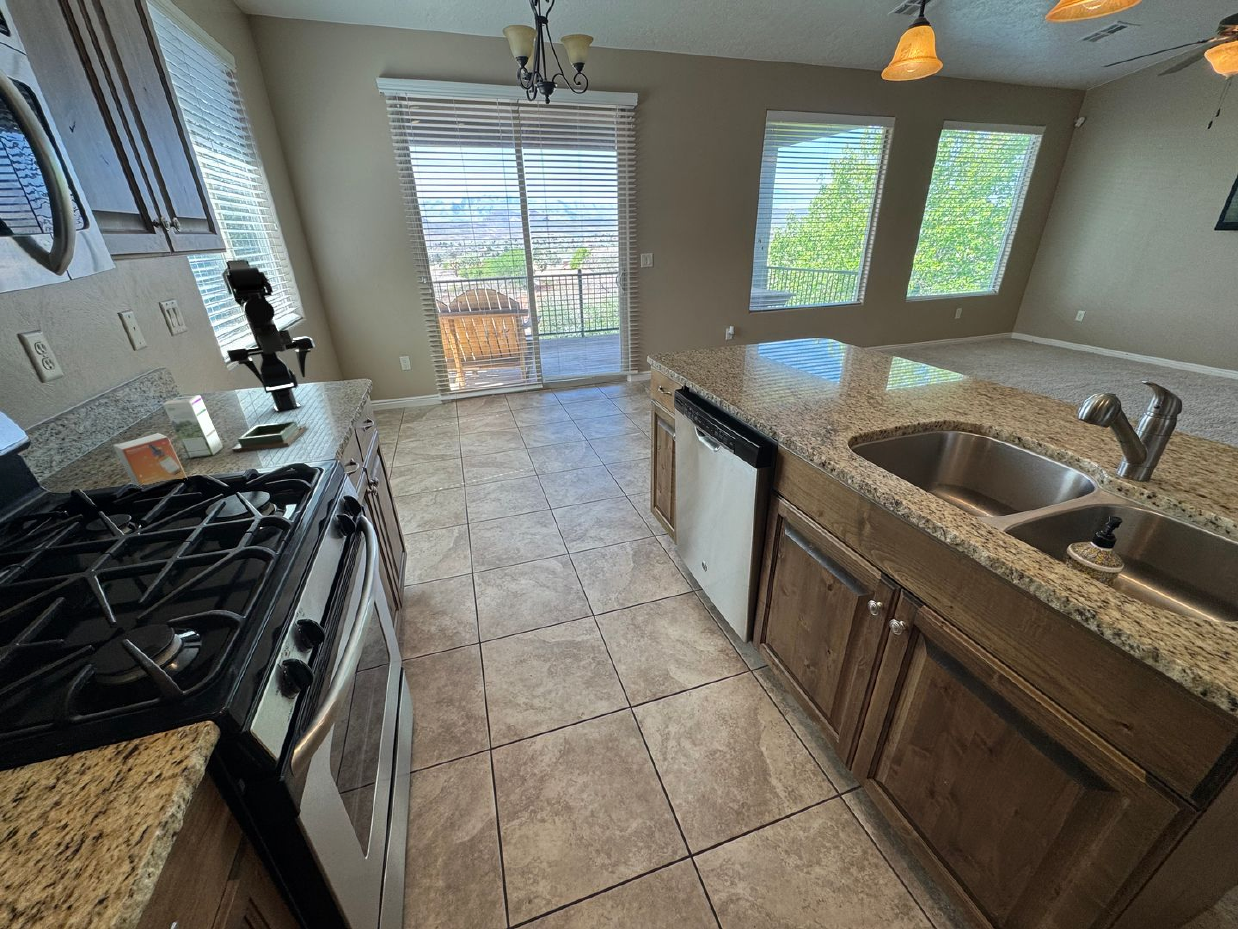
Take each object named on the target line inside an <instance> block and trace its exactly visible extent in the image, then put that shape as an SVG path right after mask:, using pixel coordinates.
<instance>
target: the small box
mask: <svg viewBox="0 0 1238 929" xmlns="http://www.w3.org/2000/svg"><path fill="white" fill-rule="evenodd" d="M112 447H113V449H114V451H115V453H116V455H117V457H118V459H119V460H120V462H121V464H122V467H123V468H124V470H125V472H126V474H127V475H128V477H129V479H130V482H131V483H132V485H133V486H134V485H140V486H142V485H149V484H153V483H156V482H160V481H166V480H171V479H183V478H187V479H188V477H187V475H186V473H185V470H184V468H183V466H182V464H181V462H180V460H179V458H178V456H177V453H176V452H175V449H174V447H173V445H172V443H171V441H170V439H169V437H168V436H166V435H164V434H161V433H159V432H157V433H153V434H150V435H147V436H142V437H140V438H135V439H132V440H128V441H125V442H121V443H115V444H113V445H112Z"/></svg>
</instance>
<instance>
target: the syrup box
mask: <svg viewBox="0 0 1238 929" xmlns="http://www.w3.org/2000/svg"><path fill="white" fill-rule="evenodd" d="M162 406H163V408H164V411H165V412H166V414H167V416H168V419H169V421H170V423H171V426H172V427H173V429H174V431H175V434H176V435H177V437H178V440H179V442H180V444H181V446H182V448H183V450H184V452H185V454H186V456H187V458H188V459H193V458H199V457H201V458H202V457H208V456H209V457H210V456H214V455H216V454H217V453H218V452H219V451H220V450H222V449H223V448H224V445H223V444H222V441H221V439H220V436H219V435H218V433H217V431H216V428H215V426H214V424H213V422H212V419H211V417H210V415H209V412H208V410H207V407H206V405H205V403H204V401H203V398H202V396H201V395H200V394H197V395H187V396H180V397H179V396H178V397H173V398H170V399H168V400H166V401H165V402H164V403H162Z"/></svg>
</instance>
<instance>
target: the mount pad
mask: <svg viewBox="0 0 1238 929" xmlns="http://www.w3.org/2000/svg"><path fill="white" fill-rule="evenodd" d="M307 429H308V427H307V426H306V425H299V426H298V424H297V421H288V422H277V423H268V424H267V423H266V424H257V425H255V426H253V427H251V429H249V430H248V431H247V432H245V433H244V434H243V435H241V436H240V437H239V438H237V441H238V443H237V444H236V445H235V446H234V447H232V448H231V451H232V453H233V454H234V453H242V452H252V451H261V450H270V449H278V448H288V447H290V446H291V445H292V444H293V443H295V441H296V440H298V438H299V437H300V436H301V435H303V434H304V432H306V430H307Z"/></svg>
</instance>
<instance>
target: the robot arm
mask: <svg viewBox="0 0 1238 929" xmlns="http://www.w3.org/2000/svg"><path fill="white" fill-rule="evenodd" d="M225 265H226V268H225V270H224V271H223V272H222V274H221V276H222V278H223V281H224V284H225V287H226V290H227V293H228V295H232V297H233V298H232V299H233V300H234V302H235V303H236V304H238V305H239V306H240V307H241V309H242V311H243V312H244V316H245V319H246V321H247V323H248V326H249V328H250V331H251V334H252V336H253V338H254V341H255V344H256V346H257V347H250V348H246V346H244V345H243V346H237V347H232V348H228V349H227V350H226V353H227V356H228V357H229V360H230V362H231V363H235V362H237V363H238V365H245V366H246V367H247V368H248V369H249V371H251V372H252V373H253V374H254V375H255V377H256V378H257V379H258V381H259V382H260V383H261V384H262V387H263V390H264V392H265V394H269V393H270V394H271V396H272V400H273V403H274V406H273V409H274V410H275V411H276V412H277V413H279V412H284V411H289V410H294V409H297V408H298V409H299V408H301V405H300V404H299V403H298V402H297V399H296V397H295V394H294V391H293V389H297V388H298V387H299V384H298V380H297V377H296V373H295V372H293V371H292V369H291V368H288V365H287V364H286V363H285V361H284V360H282V359H281V358H280V357H278V354H277V352H280V353H282V352H285V351H288V350H294V349H295V356H296V359H297V363H298V368H299V371H300V374H301V376H302V378H306V359H307V355H308V353H311V351H312V350H311V349H316V345H315V342H314V340H313V338H311V337H309V336H306V335H305V336H300V337H294V338H292V336H291V333H290V331H289V329H283V330H282V329H281V330H279V327H278V324H277V322H276V319H275V308H274V306H273V305H272V304H271V303H270V302H269V300H267V298H266V297H271V296H273V295H272V293H274V290H273V287H272V285H271V282H270V280H269V278H268V276H267V275H265V273H264V272H263V271H260V269H259V268H258V267H251V266H250V262H249V261H248V260H246V259H233V260H227V261H225ZM257 355H259V356H260V357H261V360H260V364H259V369H258V367H257V366H256V364H255V363H254V361H253V359H252V358H251V357H253V356H257Z"/></svg>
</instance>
